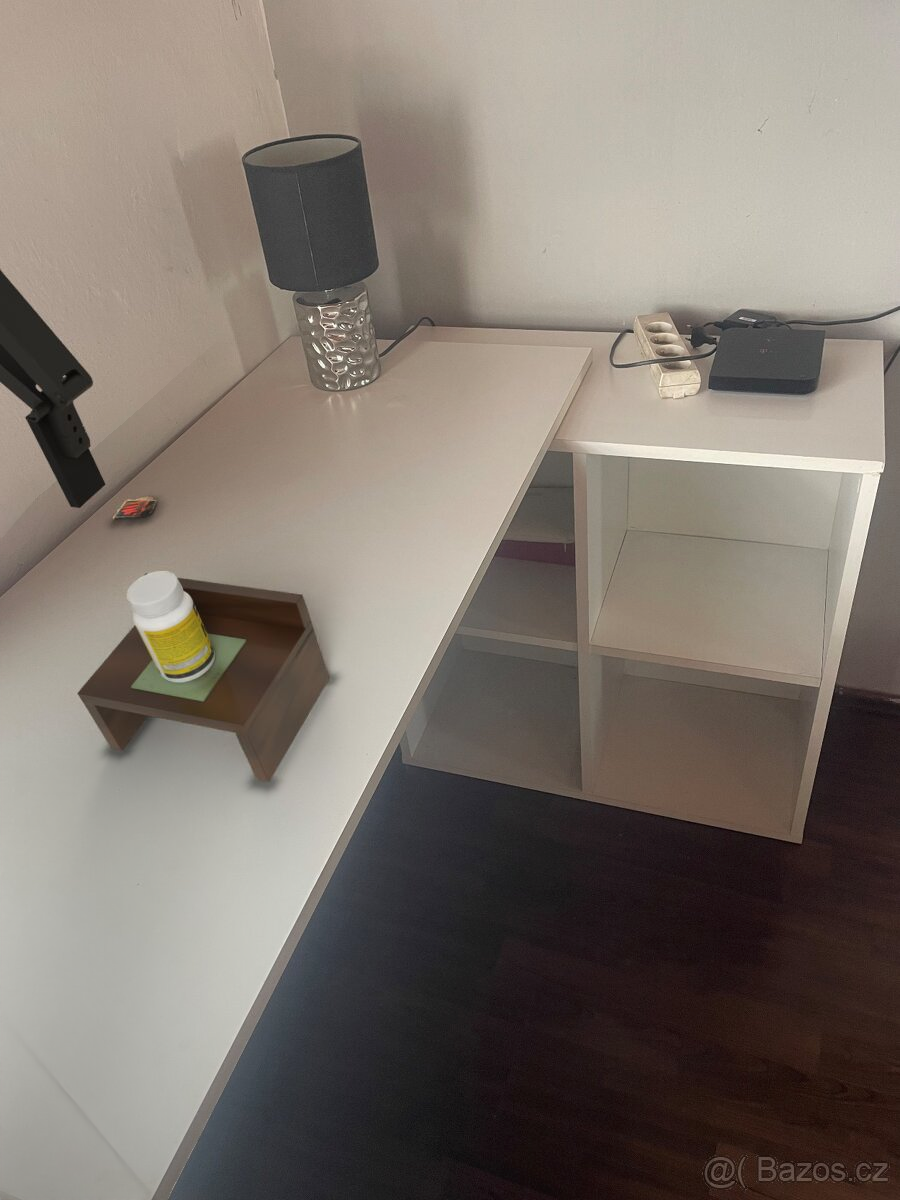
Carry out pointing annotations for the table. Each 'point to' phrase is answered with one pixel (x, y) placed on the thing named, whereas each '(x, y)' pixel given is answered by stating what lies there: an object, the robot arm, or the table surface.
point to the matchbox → (136, 508)
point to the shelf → (222, 675)
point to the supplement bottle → (170, 627)
